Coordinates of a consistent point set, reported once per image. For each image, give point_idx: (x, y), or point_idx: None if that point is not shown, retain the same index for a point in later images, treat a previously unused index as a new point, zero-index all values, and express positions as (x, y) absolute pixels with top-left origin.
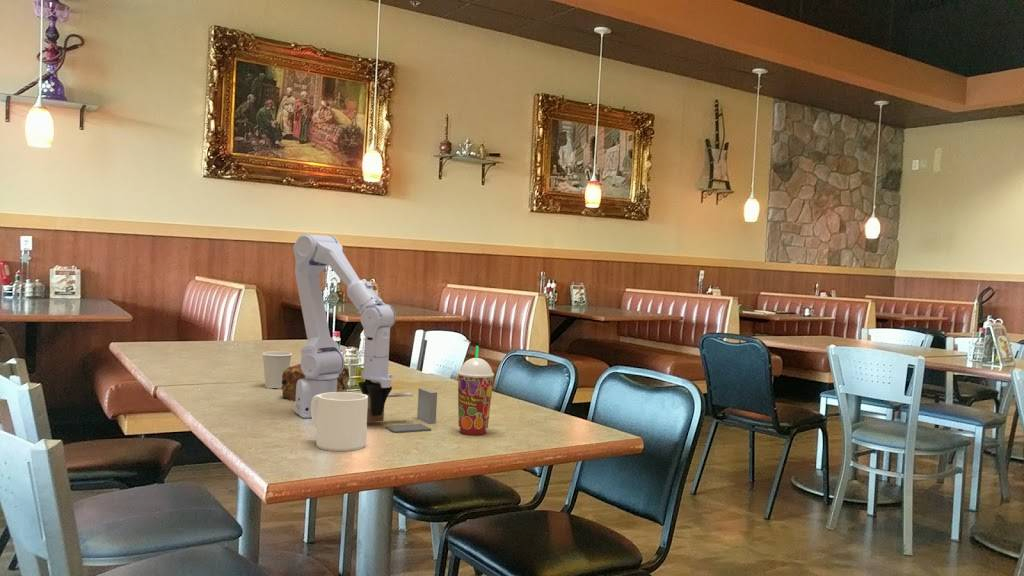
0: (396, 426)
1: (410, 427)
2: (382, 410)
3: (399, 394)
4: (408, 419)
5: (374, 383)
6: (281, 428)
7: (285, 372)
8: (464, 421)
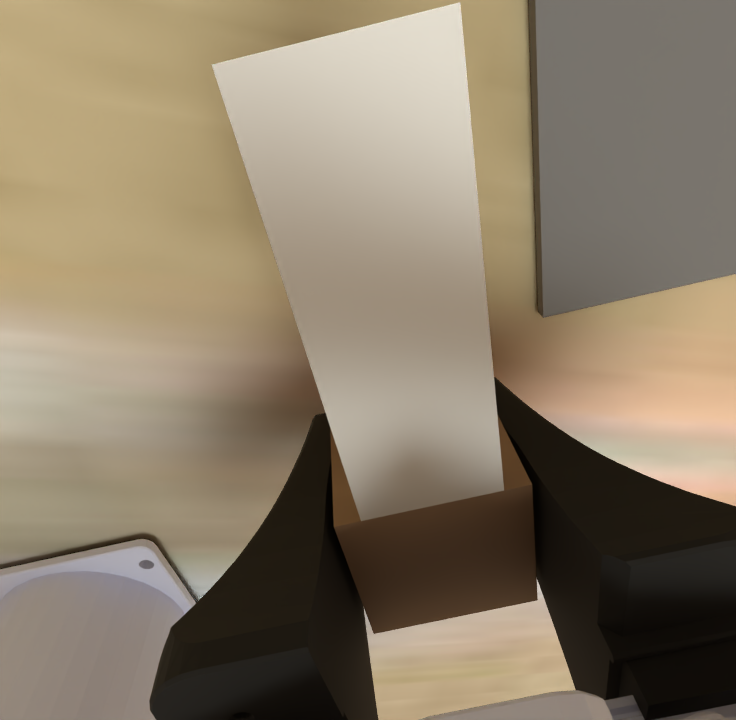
0: (595, 230)
1: (680, 102)
2: (513, 395)
3: (463, 291)
4: (190, 16)
5: (349, 703)
6: (445, 693)
7: None
8: None
